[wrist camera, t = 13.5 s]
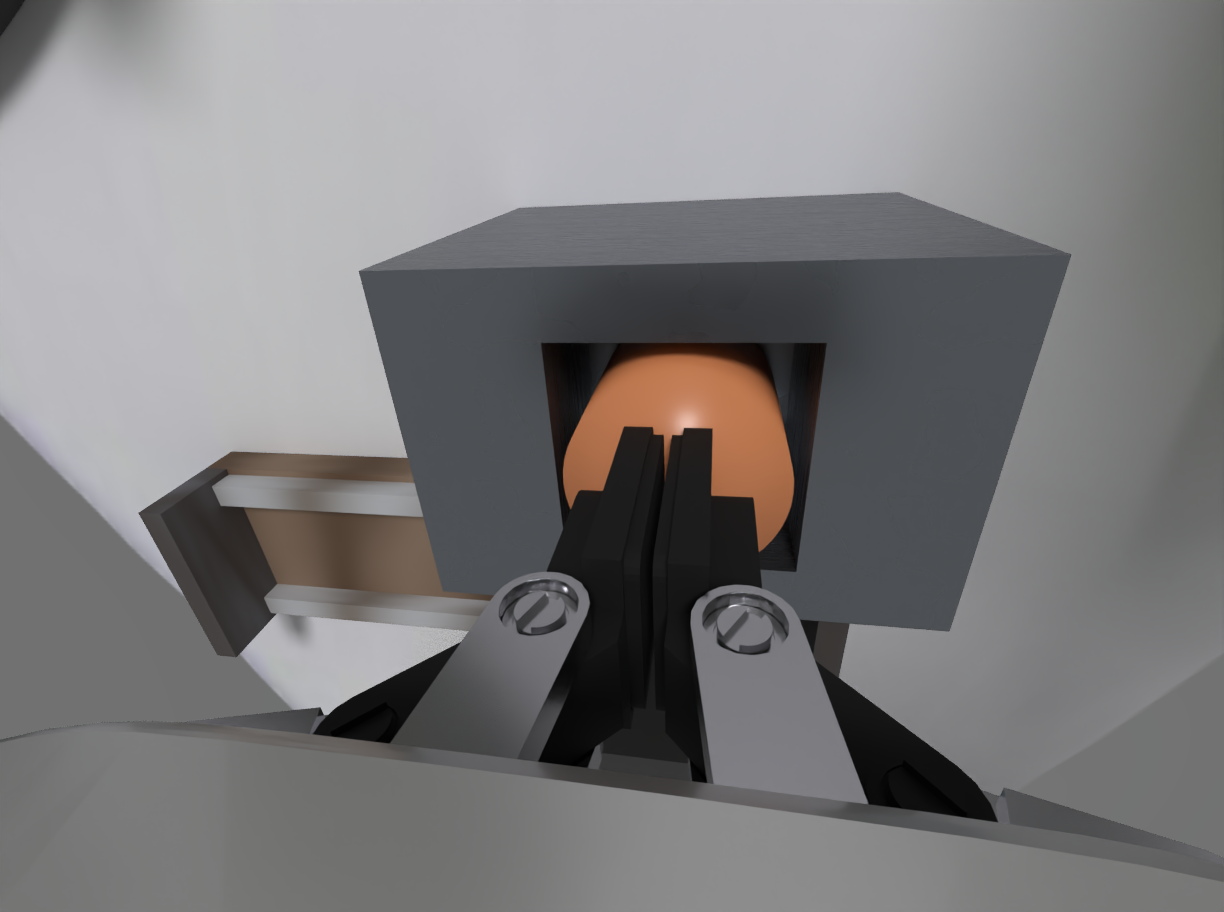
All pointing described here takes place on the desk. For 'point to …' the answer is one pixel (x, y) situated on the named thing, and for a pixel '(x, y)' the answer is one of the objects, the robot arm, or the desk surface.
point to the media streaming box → (8, 12)
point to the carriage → (645, 745)
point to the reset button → (692, 420)
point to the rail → (322, 549)
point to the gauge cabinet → (727, 313)
